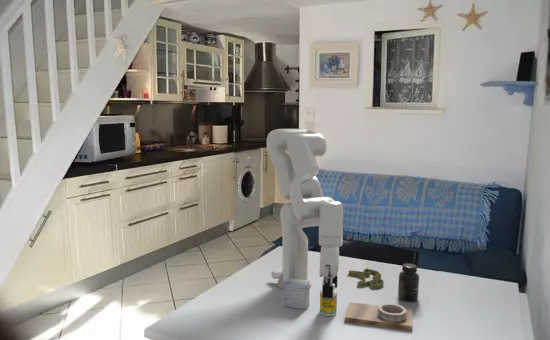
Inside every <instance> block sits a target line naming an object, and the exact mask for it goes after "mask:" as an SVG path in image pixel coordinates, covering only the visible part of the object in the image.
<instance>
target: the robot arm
mask: <svg viewBox="0 0 550 340" xmlns="http://www.w3.org/2000/svg"><path fill="white" fill-rule="evenodd" d="M327 149H328V148H327V141H326V139H325V137H324V136H323V135H322V134H321V133H319V132H317V131H314V130H311V129H308V128H278V129H277V128H276V129H273V130H271V131H270V132H269V133H268V134H267V137H266V150H267V154H268V156H269V159H270V162H271V163H272V165H273V168H274V172H275V177H276V181H277V186H278V192H279V194H280V197H281V198H282V200H286V201H290V202H288V203H285V204H284V205H282V207H281V208H280V211H279V212H280V213H279V216H280V222H281V230H282V233H281V234H282V241H281V242H282V253H281V255H282V257H281V258H282V259H281V262H282V263H281V271H279V272H278V271H271V272H270V273H271V275H270V276H271V277H272V279H277V286H278V287H279V288H280V287H281V288H280V289H283V290H284V282H285V281H286V280H287V279H288V278H292V279H300V280H308V281H310V288H311V287H312V281H311V280H310V279H308V270H309V269H308V263H309V262H308V259H309V258H308V257H309V239H308V236H307V234H306V233H305V232H304V230H303V229H304V228H311V227H318V245H319V246H321V247H320V257H319V277H320V278H323V279H322V286H321V287H322V289H321V290H322V297H323V298H333V285H332V283H334V284H335V289H336V288H338V271H339V264H340V247H342V246H343V228H344V227H343V222H344V219H343V218H344V207H343V204H342V202H341V201H337V200H334V199H333V198H331V197H328V196H324V194H323V190H322V189H323V188H322V185H321V182H320V180H319V178H318V177H317V176H318V174H319V172H320V167H319V164H318V161H317V157H322V156H324V155H325V154H326V152H327ZM287 152H288V153H287Z"/></svg>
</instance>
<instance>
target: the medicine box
mask: <svg viewBox="0 0 550 340" xmlns="http://www.w3.org/2000/svg"><path fill="white" fill-rule="evenodd" d="M310 281H311V280H310ZM310 281H308V280H300V279H292V278H288V279H287V280H286V281H285V282H284V289H283V307H284V306H285V307H286V308H293V309H299V310H307V309H308V307H309V305H310V288H311V287H310Z"/></svg>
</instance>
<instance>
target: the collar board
mask: <svg viewBox="0 0 550 340" xmlns="http://www.w3.org/2000/svg"><path fill="white" fill-rule="evenodd" d="M344 322H345V323H351V324H359V325H365V326H366V325H367V326H373V327H380V328H387V329H395V330H403V331H408V332H410V331H411V332H412V331H413V311H412V309H408V308H405V307H404V306H403V305H400V304H396V303H390V302H387V303H386V302H385V303H382V304H380V305H377V304H369V303H368V304H367V303H361V302H353V301H349V302H348V306H347V309H346V312H345V316H344Z"/></svg>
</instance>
